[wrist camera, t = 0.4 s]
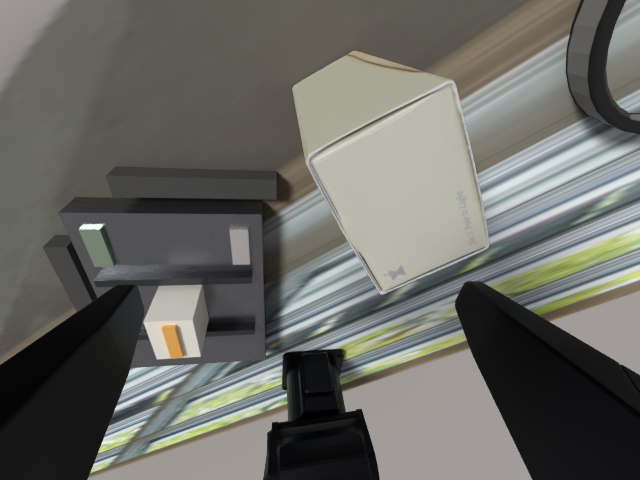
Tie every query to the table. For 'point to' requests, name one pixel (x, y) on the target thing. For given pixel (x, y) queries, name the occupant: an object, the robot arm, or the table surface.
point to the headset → (595, 63)
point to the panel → (180, 264)
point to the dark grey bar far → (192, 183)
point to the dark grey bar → (70, 271)
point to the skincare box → (392, 166)
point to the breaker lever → (177, 321)
